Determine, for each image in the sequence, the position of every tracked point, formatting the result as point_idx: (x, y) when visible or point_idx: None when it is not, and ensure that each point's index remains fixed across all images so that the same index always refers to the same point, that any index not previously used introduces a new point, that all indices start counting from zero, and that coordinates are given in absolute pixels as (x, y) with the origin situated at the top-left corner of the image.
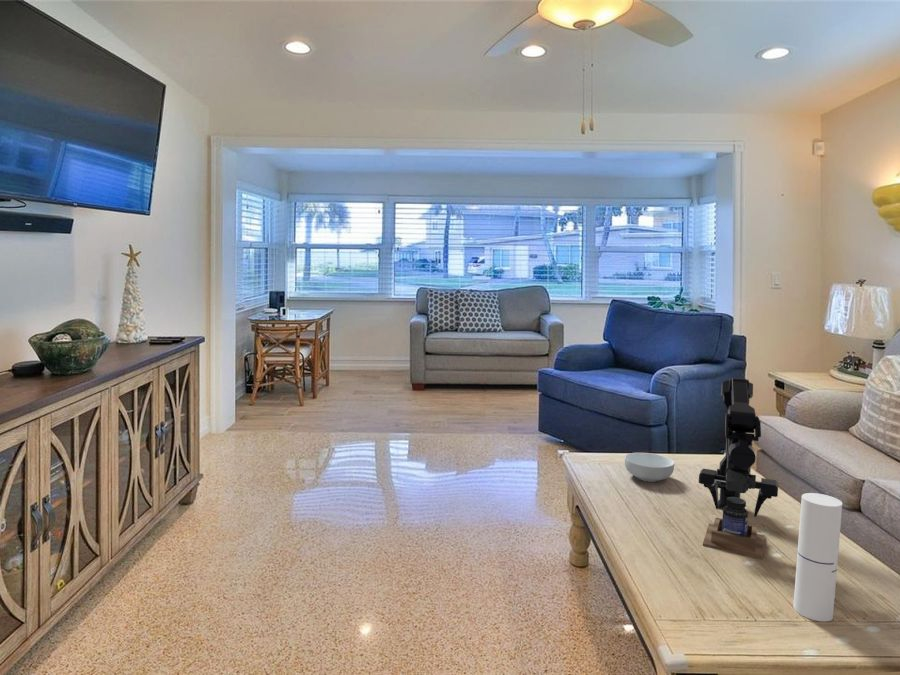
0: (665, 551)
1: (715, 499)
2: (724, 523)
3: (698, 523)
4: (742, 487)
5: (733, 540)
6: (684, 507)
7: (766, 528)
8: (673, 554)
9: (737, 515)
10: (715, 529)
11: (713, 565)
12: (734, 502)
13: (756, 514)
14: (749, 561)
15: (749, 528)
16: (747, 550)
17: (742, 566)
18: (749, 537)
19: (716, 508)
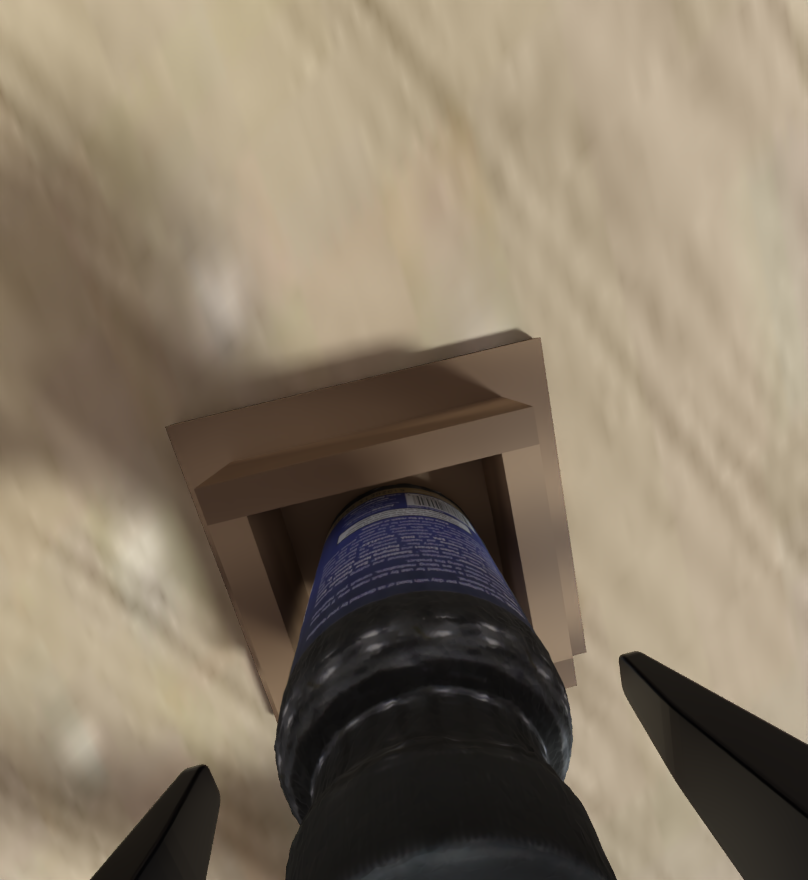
0: (721, 25)
1: (794, 773)
2: (479, 552)
3: (635, 628)
4: None
5: (362, 438)
6: None
7: None
8: (661, 17)
9: (359, 631)
10: (519, 469)
11: (380, 53)
12: (449, 864)
13: (155, 805)
14: (221, 324)
15: None
16: (276, 450)
17: (224, 205)
18: None
19: (640, 657)
